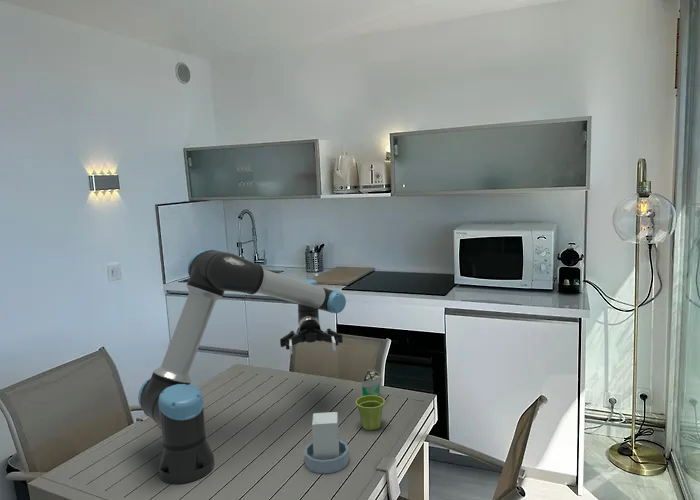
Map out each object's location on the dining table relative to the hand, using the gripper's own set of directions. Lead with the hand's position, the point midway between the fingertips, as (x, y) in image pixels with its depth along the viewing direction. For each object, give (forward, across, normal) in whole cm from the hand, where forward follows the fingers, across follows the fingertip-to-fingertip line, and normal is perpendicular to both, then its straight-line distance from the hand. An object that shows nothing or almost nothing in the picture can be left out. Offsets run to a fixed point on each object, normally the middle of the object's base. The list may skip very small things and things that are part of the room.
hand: (312, 348), depth 159 cm
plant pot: (-3, -18, -29) cm, 34 cm away
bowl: (+15, -2, -29) cm, 33 cm away
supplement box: (+15, -2, -28) cm, 32 cm away
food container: (-21, -22, -29) cm, 42 cm away
